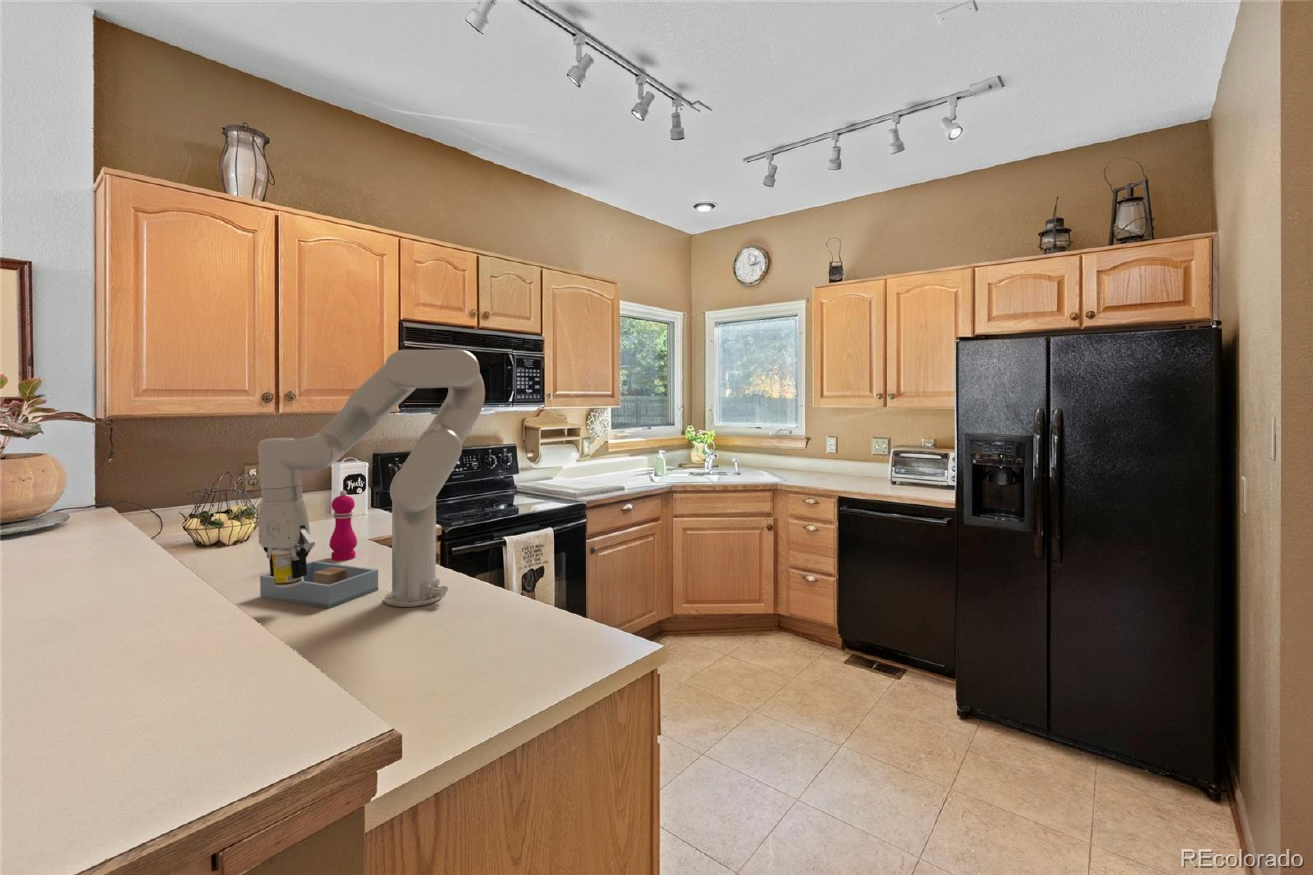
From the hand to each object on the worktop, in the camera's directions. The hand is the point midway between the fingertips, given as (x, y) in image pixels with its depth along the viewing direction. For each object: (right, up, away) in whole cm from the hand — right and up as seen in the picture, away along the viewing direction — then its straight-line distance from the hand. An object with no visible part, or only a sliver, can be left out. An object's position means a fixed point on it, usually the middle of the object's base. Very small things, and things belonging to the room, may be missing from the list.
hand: (289, 575), depth 132 cm
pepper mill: (-11, -5, +44) cm, 46 cm away
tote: (0, -7, +12) cm, 14 cm away
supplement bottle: (0, -2, 0) cm, 2 cm away
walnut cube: (+3, -6, +11) cm, 13 cm away
